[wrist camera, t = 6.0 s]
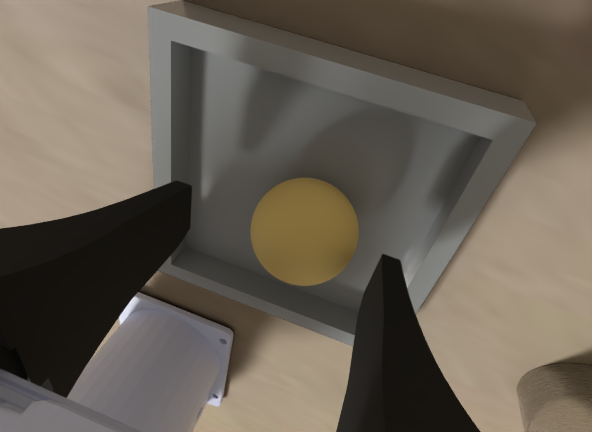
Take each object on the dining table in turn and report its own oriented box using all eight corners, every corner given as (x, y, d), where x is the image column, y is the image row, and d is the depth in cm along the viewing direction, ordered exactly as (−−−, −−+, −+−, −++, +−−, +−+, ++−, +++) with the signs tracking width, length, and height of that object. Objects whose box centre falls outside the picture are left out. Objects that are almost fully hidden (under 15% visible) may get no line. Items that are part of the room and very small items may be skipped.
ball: (334, 240, 17) (349, 312, 14) (246, 230, 17) (241, 304, 13) (360, 165, 15) (387, 232, 12) (259, 150, 14) (258, 217, 11)
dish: (390, 326, 19) (386, 359, 18) (178, 245, 21) (156, 270, 19) (523, 100, 12) (537, 122, 10) (181, 0, 13) (147, 6, 12)
